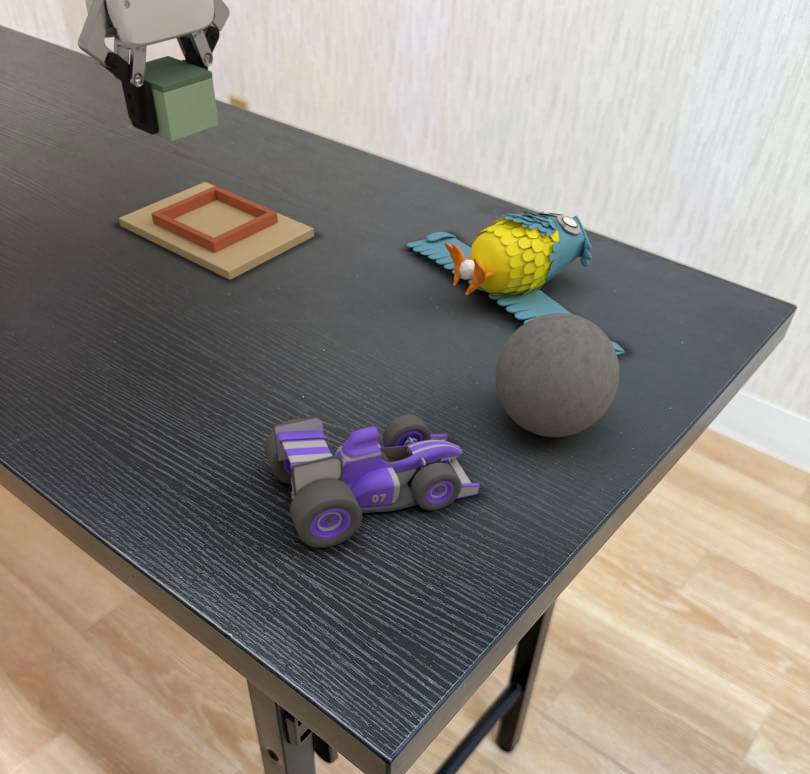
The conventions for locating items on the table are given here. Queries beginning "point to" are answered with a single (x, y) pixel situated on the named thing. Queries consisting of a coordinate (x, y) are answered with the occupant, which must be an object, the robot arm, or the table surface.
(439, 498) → the toy race car
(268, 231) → the wooden board with frame
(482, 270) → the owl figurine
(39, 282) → the table surface
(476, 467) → the table surface
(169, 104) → the green lidded box
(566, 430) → the decorative ball
